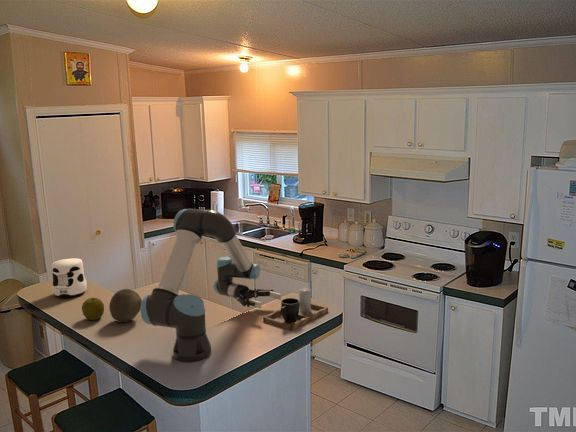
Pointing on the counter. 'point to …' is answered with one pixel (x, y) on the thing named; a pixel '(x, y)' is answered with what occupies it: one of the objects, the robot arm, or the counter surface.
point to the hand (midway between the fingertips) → (270, 301)
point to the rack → (302, 316)
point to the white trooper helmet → (68, 277)
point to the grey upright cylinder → (305, 300)
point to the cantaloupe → (125, 305)
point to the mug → (290, 309)
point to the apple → (93, 308)
